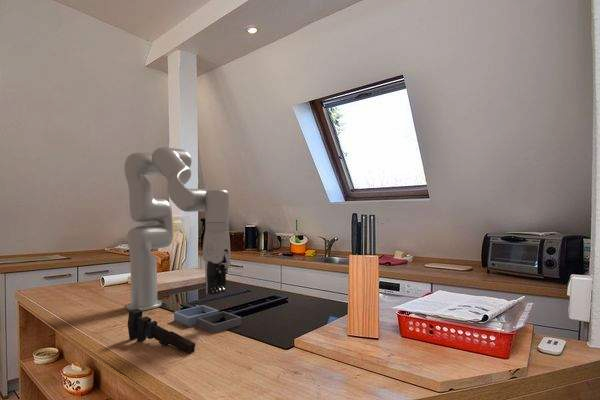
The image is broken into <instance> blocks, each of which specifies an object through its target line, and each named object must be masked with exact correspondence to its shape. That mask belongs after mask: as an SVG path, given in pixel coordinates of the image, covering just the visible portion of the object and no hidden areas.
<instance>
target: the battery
mask: <svg viewBox="0 0 600 400" xmlns="http://www.w3.org/2000/svg"><path fill="white" fill-rule="evenodd" d="M220 263H223V261H222V262H220ZM220 266H222V265H220ZM228 270H229V268H228V269H227V272H226V275H227V274H228V273H229V271H228ZM204 272H205V294H206V295H211V296H213V295H218V294H223V293H224V292H226V291H227V288H226V284H224V285H219V286H218V285H216V273H218V270H217V264H214V263H212V262H211V261H209V260H207V261H206V262H205V271H204Z"/></svg>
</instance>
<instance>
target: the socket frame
mask: <svg viewBox="0 0 600 400" xmlns="http://www.w3.org/2000/svg"><path fill="white" fill-rule="evenodd" d="M222 317H224V318H225V321H222V322H219V321H221V320H220V319H221V318H222ZM242 318H243V317H242V316H238V315H236V314H234V313H230V312H228V311H227V312H226V311H219V313H215V314H211V315H208V316H204V317H200V318H197V325H196V326H197V327H198V328H201V329H203V330H206V331H208V332H211V333H212V334H217V333H220V332H222V331H227V330H230V329H233V328H236V327H240V326H242V325H243V323H242ZM216 322H217V323H216Z"/></svg>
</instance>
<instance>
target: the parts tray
mask: <svg viewBox="0 0 600 400" xmlns="http://www.w3.org/2000/svg"><path fill="white" fill-rule="evenodd" d="M202 311H204V312H206V313H202ZM219 312H220V310H218V309H215V308H213V307H210V306H207V305H204V304H202V305H201V304H200V305H197V306H194V307H189V308H186V309H181V310H176V311H174V312H173V321H174V322H176V323H178V324H179V325H183V326H185V327H187V328H192V327H195V326H197V318H200V317H204V316H208V315H211V314H215V313H219Z"/></svg>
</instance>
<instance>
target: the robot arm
mask: <svg viewBox="0 0 600 400" xmlns="http://www.w3.org/2000/svg"><path fill="white" fill-rule="evenodd" d="M192 161H193V160H192V156H191V155H190V153H189V152H188V151H187V150H185V149H181V148H176V147H175V148H174V147H167V146H165V147H164V146H163V147H158V148H156V149H155V150H153V152H152V153H151V152H140V151H139V152H133V153H131V154H129V155H127V157H126V159H125V161H124V169H123V170H124V175H125V176H124V177H125V180H126V183H127V187H128V196H129V197H128V198H129V199H128V201H129V213H130V215H129V216H130V218H131V220H132V221H134V222H136V223H153V222H155V224H148V225H147V224H145V225H137V226H135V227H132V228H131V229H129V230H128V232H127V235H126V242H127V246H128V252H129V260H130V261H129V262H130V264H129V266H130V267H129V268H130V300H131V301H130V302H129V303H127V305H126V310H128V311H130V310H133V309H137V308H138V309H140V310H142V311H148V310H152V309H156V308H159V307H161V306H162V304H163V303H162V301H161V300H160V299H158V262H157V257H156V256H155V254H154V253H153V251H152V250H155V249H163V248H167V247H169V246H171V245H172V243H173V240H174V239H173V238H174V224H173V211H172V206H171V204H170V202H169V201H168V200H167V199H165V198H159V197H156V198H155V197H154V196H153V185H152V184H151V182H150V181H149V179H148V178H147V177H146V176H159V177H164V178H165V179H166V180H167V185H166V188H167V194H168V197H169V199H170V200H171V202H172V203H173V204H174V205H175V206H176V207H177V208H178V209H179V210H180V211H183V212H184V213H185V212H186V213H190V212H192V213H193V212H205V214H204V215H205V219H204V220H205V221H204V222H205V223H204V224H205V225H204V227H205V228H204V229H205V230H204V234H203V240H202V241H203V242H202V260H203V261H204V262H205V263H206V261H207V260H209V261H211V262H212V263H214V264H217V270H218V273H216V285H218V286H219V285H224V284H225V285H226V284H227V283H226V282H227V280H226V278H227V274H226V272H227V269H228V270H229V267H231V265H232V263H231V253H232V252H231V238H230V225H229V224H230V193H229V192H228V190H226V189H207V188H206V189H205V188H204V189H203V188H187V187H186V186H185V184H187V183H188V182H189V180H190V179H191V176H192V170H191V169H190V168H191V166H192ZM222 261H223V263H220V262H222ZM220 265H222V266H220Z"/></svg>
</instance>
